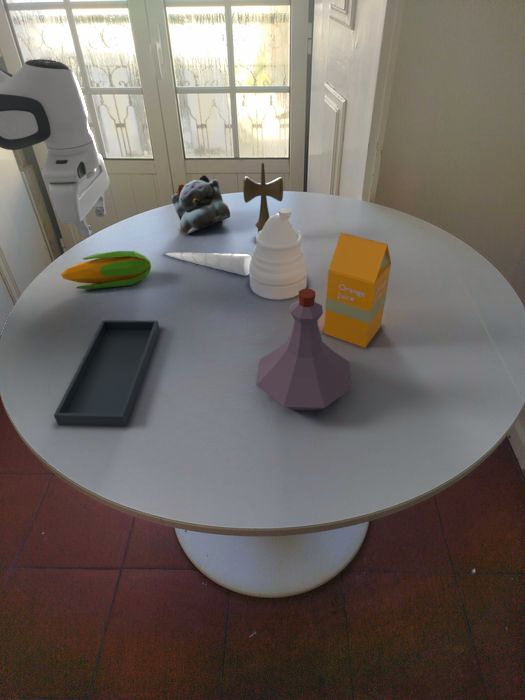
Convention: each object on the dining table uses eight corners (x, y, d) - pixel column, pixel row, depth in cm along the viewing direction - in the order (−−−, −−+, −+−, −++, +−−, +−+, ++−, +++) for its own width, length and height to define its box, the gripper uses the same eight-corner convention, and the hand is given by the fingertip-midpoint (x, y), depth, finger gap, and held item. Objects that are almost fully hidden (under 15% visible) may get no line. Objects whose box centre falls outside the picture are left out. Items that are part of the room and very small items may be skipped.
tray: (58, 426, 76) (53, 415, 74) (105, 330, 95) (102, 320, 93) (126, 427, 75) (122, 416, 73) (160, 330, 94) (158, 320, 93)
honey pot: (318, 282, 106) (322, 205, 95) (281, 307, 99) (281, 228, 88) (275, 264, 113) (274, 190, 101) (238, 286, 106) (232, 210, 94)
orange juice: (365, 349, 88) (379, 254, 75) (323, 334, 92) (329, 241, 79) (381, 327, 93) (396, 234, 80) (340, 314, 97) (349, 223, 84)
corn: (147, 255, 102) (52, 267, 99) (153, 286, 107) (62, 298, 104) (147, 242, 108) (57, 252, 105) (153, 272, 113) (67, 283, 110)
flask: (326, 351, 88) (334, 256, 75) (369, 413, 76) (387, 312, 63) (243, 372, 84) (236, 276, 71) (274, 440, 72) (272, 339, 59)
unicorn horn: (174, 249, 120) (171, 231, 117) (255, 270, 111) (254, 252, 108) (163, 257, 117) (159, 239, 114) (244, 280, 108) (243, 261, 105)
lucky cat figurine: (175, 238, 125) (158, 185, 121) (188, 235, 136) (172, 187, 133) (228, 221, 122) (211, 167, 118) (237, 220, 133) (222, 170, 130)
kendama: (247, 235, 125) (243, 158, 112) (283, 235, 124) (283, 158, 112) (245, 246, 120) (241, 167, 107) (283, 246, 120) (283, 167, 107)
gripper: (77, 141, 98) (95, 204, 107) (37, 177, 83) (62, 248, 91) (107, 140, 98) (122, 204, 107) (71, 176, 82) (93, 247, 91)
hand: (94, 224), depth 99 cm, fingers open, 8 cm apart
